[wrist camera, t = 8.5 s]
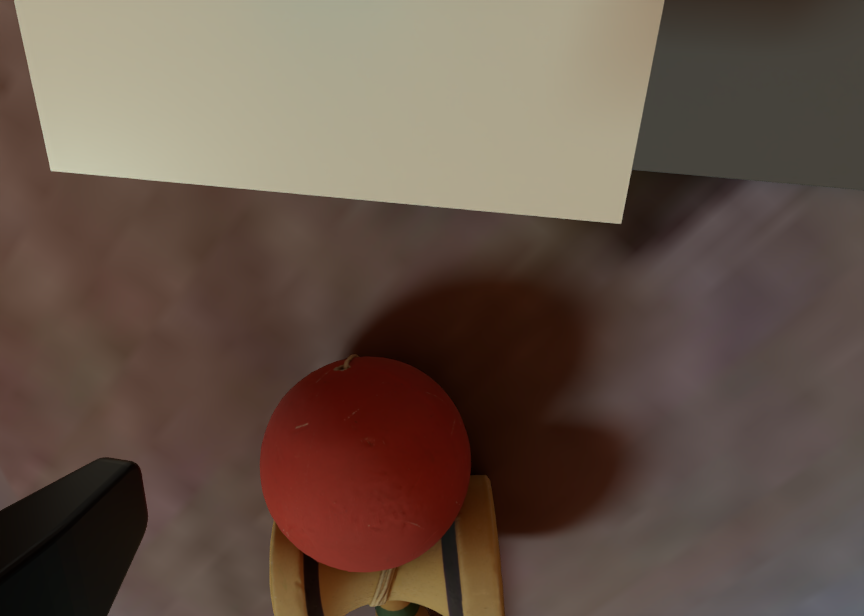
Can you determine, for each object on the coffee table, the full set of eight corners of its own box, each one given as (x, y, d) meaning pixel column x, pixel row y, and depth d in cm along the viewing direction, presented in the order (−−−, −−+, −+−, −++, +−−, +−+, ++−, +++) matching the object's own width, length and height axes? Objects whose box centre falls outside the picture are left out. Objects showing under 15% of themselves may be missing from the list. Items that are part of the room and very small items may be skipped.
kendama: (542, 660, 30) (519, 326, 19) (513, 831, 25) (461, 510, 15) (374, 623, 32) (273, 307, 22) (318, 773, 27) (154, 461, 17)
